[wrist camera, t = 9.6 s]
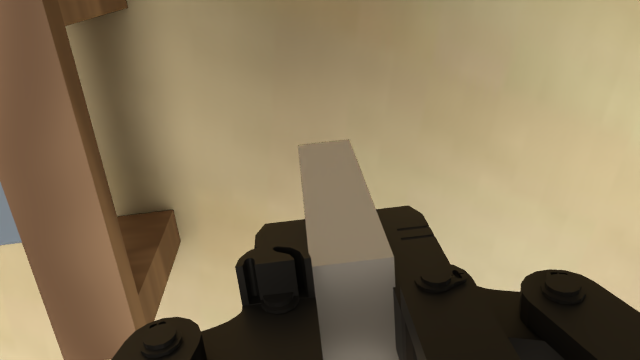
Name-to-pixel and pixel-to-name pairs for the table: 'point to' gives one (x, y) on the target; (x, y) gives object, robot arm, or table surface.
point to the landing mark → (7, 222)
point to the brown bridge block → (72, 189)
